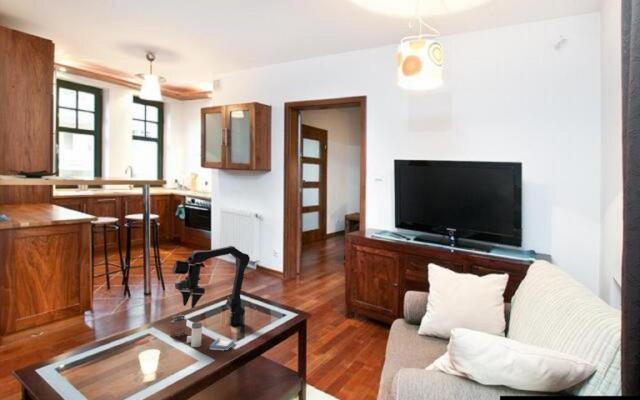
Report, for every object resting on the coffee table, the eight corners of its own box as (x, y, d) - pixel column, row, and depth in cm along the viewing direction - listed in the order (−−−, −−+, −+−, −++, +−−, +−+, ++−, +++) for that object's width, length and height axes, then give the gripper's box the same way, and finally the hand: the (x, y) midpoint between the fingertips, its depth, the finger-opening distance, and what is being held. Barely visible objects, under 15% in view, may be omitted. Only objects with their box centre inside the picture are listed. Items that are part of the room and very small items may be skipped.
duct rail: (199, 339, 172) (199, 334, 172) (200, 340, 170) (200, 335, 170) (186, 341, 168) (186, 336, 168) (187, 342, 167) (187, 337, 167)
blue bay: (217, 341, 170) (217, 338, 170) (234, 343, 169) (234, 339, 169) (209, 349, 161) (209, 345, 161) (227, 350, 160) (227, 346, 160)
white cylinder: (199, 342, 168) (200, 321, 168) (202, 346, 164) (202, 324, 164) (190, 344, 165) (191, 323, 166) (192, 347, 162) (193, 325, 162)
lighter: (184, 332, 181) (185, 312, 181) (187, 334, 178) (188, 314, 178) (168, 336, 175) (169, 315, 175) (171, 338, 173) (172, 317, 173)
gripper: (170, 273, 183) (165, 304, 179) (186, 275, 169) (180, 308, 166) (191, 274, 190) (186, 304, 187) (207, 276, 177) (202, 309, 174)
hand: (188, 306), depth 178 cm, fingers open, 9 cm apart
